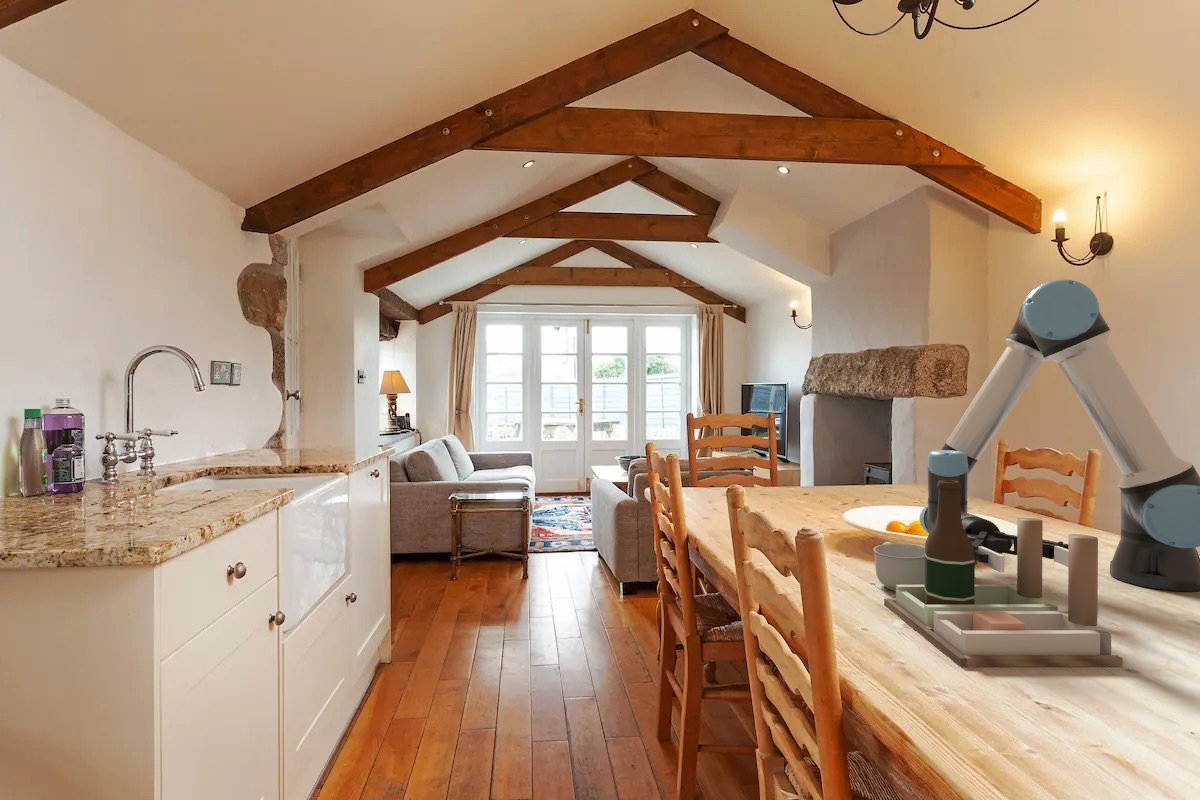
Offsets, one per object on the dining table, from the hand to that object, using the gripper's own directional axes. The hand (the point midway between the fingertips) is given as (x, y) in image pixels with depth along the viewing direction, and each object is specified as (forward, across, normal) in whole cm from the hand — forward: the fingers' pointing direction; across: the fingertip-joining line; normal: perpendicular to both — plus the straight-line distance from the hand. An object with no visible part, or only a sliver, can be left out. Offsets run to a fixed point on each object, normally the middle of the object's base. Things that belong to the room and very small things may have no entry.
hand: (1042, 564), depth 109 cm
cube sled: (+9, +10, -10) cm, 17 cm away
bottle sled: (-3, +10, -10) cm, 15 cm away
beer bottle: (-3, +14, -11) cm, 18 cm away
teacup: (-22, +14, -11) cm, 28 cm away
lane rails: (+2, +10, -10) cm, 14 cm away
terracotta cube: (+9, +13, -11) cm, 19 cm away
